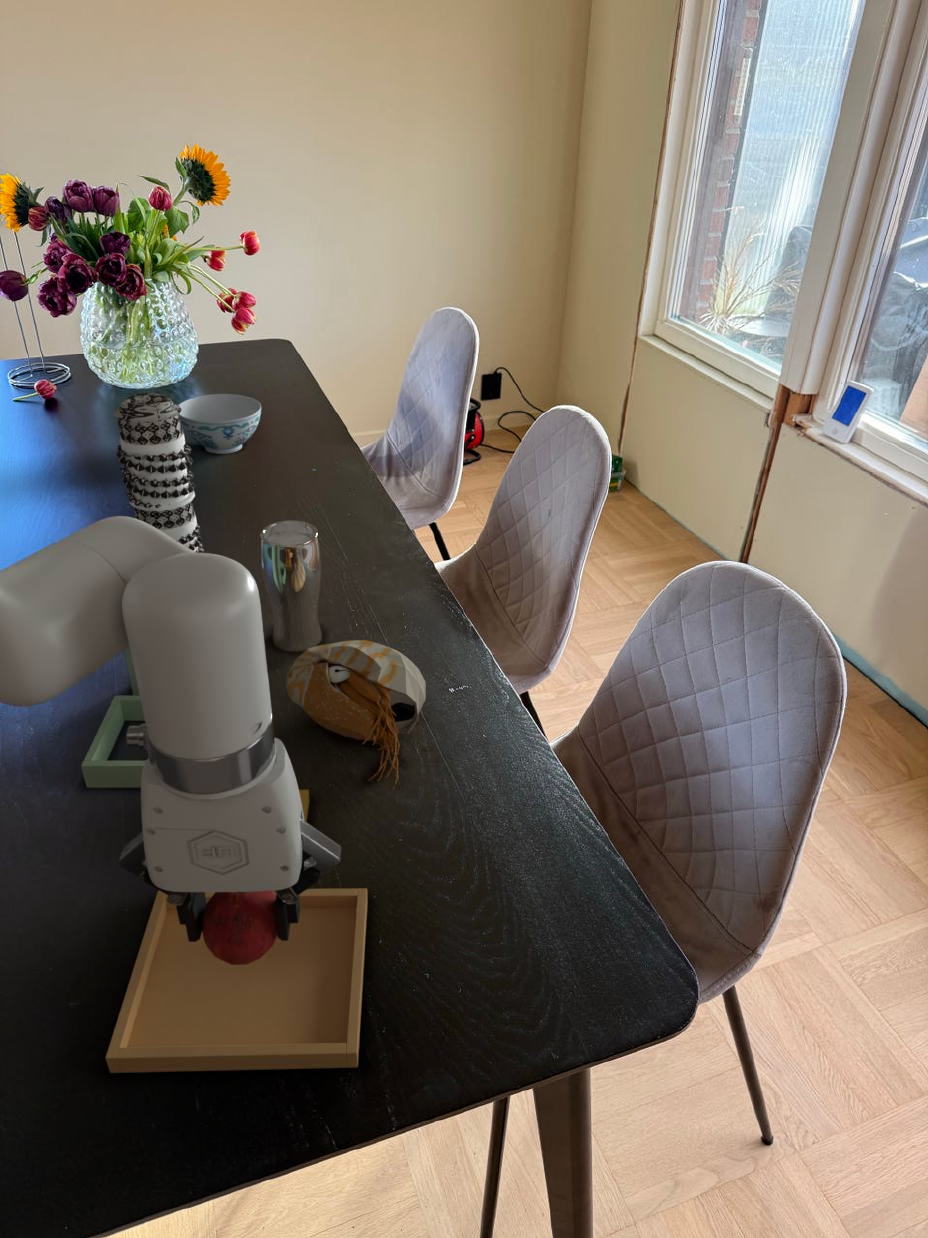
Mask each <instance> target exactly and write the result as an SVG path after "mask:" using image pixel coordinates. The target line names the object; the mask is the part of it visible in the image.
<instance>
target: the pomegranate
mask: <svg viewBox="0 0 928 1238" xmlns="http://www.w3.org/2000/svg"><path fill="white" fill-rule="evenodd" d="M275 900H276V895H275V894H274V893H273V892H272V891H257V892H215V893H214V895H213V896H212V897H211V899H210V900H209V901H208V903H207V904H206V906H205V910H204V915H203V919H202V932H203V938H204V942H205V944H206V946H207V948H208V949H209V950H210V951H211V952H212V953H213V955H214V956H215V957H217V958H218V959H220V960H222V961H224V962H227V963H229V964H231V965H247V964H249V963H251V962H254V961H256V960H258V959H260V958H261V957H262V956H263V955H264V954H265V953H266V952H267V951H268V950H269V949H270V948H271V947H272V946H273V945H274V943H275V941H276V939H277V938H278V933H277V925H276V917H275Z"/></svg>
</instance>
